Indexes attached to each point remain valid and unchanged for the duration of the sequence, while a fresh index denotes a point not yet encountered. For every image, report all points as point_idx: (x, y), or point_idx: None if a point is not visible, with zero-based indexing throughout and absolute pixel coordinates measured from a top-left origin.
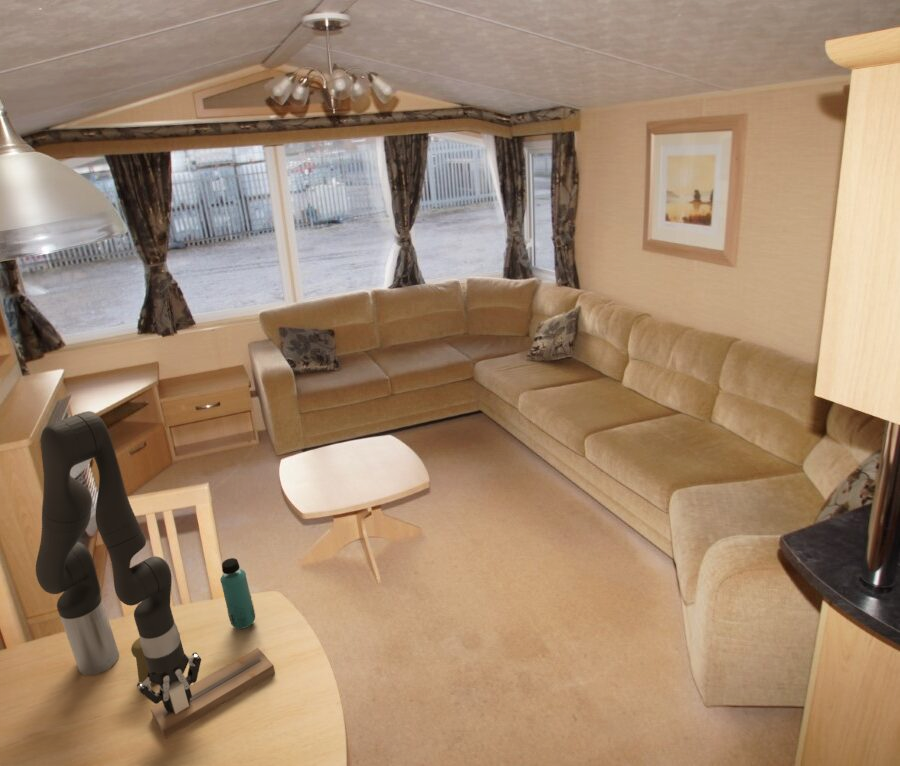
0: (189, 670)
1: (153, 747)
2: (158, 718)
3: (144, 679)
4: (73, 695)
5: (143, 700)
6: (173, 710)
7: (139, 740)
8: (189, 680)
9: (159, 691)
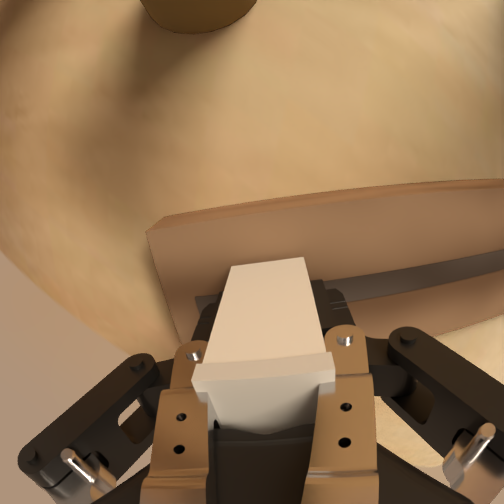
0: (424, 383)
1: (163, 347)
2: (177, 311)
3: (152, 9)
4: (4, 12)
5: (141, 97)
6: None
7: (121, 296)
8: (377, 393)
9: (173, 367)
